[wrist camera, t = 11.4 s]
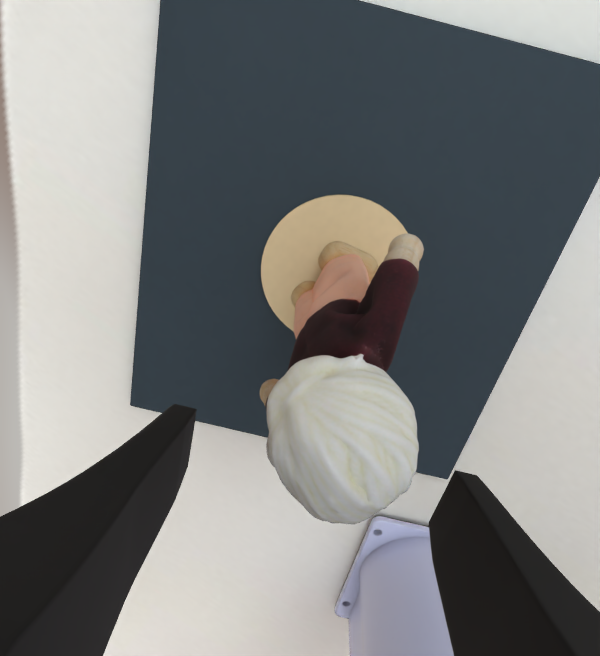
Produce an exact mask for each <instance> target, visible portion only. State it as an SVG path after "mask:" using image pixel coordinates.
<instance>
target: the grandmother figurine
mask: <svg viewBox="0 0 600 656" xmlns="http://www.w3.org/2000/svg"><path fill="white" fill-rule="evenodd" d="M423 251H424V248H423V244H422V242H421V240H420V239H419V238H418V237H416V236H415V235H412V234H408V233H406V234H401V235H399V236H397V237H395V238H394V239H393V240H392V241H391V243H390V245H389V248H388V254H387V255H386V256H385V258H384V261H383V262H382V263H381V264H380V266H379V267H378V263H377V261H376V260H375V258H374V257H373V256H372V255H370V254H368V253H366V252H364V251H362V250H360V249H358V248H355V247H353V246H351V245H349V244H347V243H344V242H341V241H334V242H331V243H329V244H328V245H326V246H325V248H324V249H323V251H322V252H321V254H320V256H319V259H318V263H319V267H320V269H321V270H322V271H321V273H320V275H319V277H318V279H317V281H316V282H315V281H304V282H302V283H301V284H299V285H298V286H297V287H296V288H295V289H294V290H293V292H292V295H291V300H292V303H293V305H294V307H295V318H294V334H295V337H296V341H295V345H294V348H293V352H292V355H291V358H290V362H289V366H288V371H287V373H286V374H285V375H284V376H283V377H282V378H281V379H280V380H277V379H269V380H267V381H265V382H264V383H263V384H262V386H261V388H260V398H261V400H262V402H263V403H264V405H265V408H266V413H267V425H268V429H269V435H268V439H267V455H268V459H269V460H270V462H271V464H272V465H273V466H274V467H275V469H276V471H277V473H278V475H279V478H280V480H281V482H282V483H283V485H284V486H285V487H286V489H287V490H288V491H289V492H290V493H291V495H292V496H293V497H295V498H296V499H297V500H298V501H299V502H300V503H301V504H302V505H303V506H304V507H305V509H306V510H307V511H308V512H309V513H310V514H311V515H312V516H314V517H315V518H317V519H320V520H322V521H328V522H330V523H344V524H357V523H360V522H362V521H364V520H366V519H368V518H370V517H371V516H373V515H374V514H376V513H378V512H379V511H380V510H382V509H385V508H386V507H387V506H388V505H389V504H391V503H392V502H393V501H394V500H396V499H397V498H398V496H399V495H400V494H402V493H404V492H406V491H407V490H408V489H409V487H410V485H411V481H412V477H413V475H414V474H415V472H416V469H417V457H418V451H419V443H418V440H417V422H416V418H415V411H414V408H413V406H412V404H411V402H410V401H409V399H408V398H407V396H406V395H405V394H404V393H403V392H402V390H401V389H400V388H399V386H398V385H397V384H396V383H395V382H394V381H393V380H392V379H391V377H390V376H389V375H388V374H387V373H386V372H387V371H388V369H389V367H390V365H391V363H392V360H393V357H394V354H395V351H396V348H397V344H398V341H399V338H400V334H401V331H402V328H403V324H404V322H405V319H406V316H407V312H408V309H409V306H410V303H411V299H412V297H413V295H414V292H415V290H416V288H417V284H418V280H419V273H418V270H419V261H420V260H421V258H422V256H423Z"/></svg>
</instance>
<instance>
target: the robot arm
mask: <svg viewBox="0 0 600 656" xmlns="http://www.w3.org/2000/svg"><path fill="white" fill-rule="evenodd" d="M196 411H197V409H195V408H191V407H187V406H182V405H178V404H173V405H171V406H170V407H169V408H167V409H166V410H165V411H164V412H163V413H162V414H161V415H159V416H158V417H157V418H156V419H155V420H154V421H152V422H151V423H150V424H149V425H147V426H146V427H145V428H144V429H143V430H141V431H140V432H139V433H137V434H136V435H135V436H134V437H132V438H131V439H130V440H128V441H127V442H126V443H124V444H123V445H122V446H120V447H119V448H118V449H116V450H115V451H113V452H112V453H111V454H109V455H108V456H106V457H105V458H103V459H102V460H100V461H99V462H97V463H96V464H94V465H93V466H91V467H90V468H88V469H87V470H85V471H84V472H82V473H81V474H79V475H77V476H76V477H74V478H72V479H71V480H69V481H67V482H66V483H64V484H62V485H61V486H59V487H57V488H55V489H54V490H52V491H50V492H48V493H46V494H45V495H43V496H41V497H39V498H37V499H35V500H33V501H31V502H29V503H27V504H25V505H23V506H21V507H19V508H18V509H15V510H14V511H11V512H9V513H7V514H5V515H3V516H1V517H0V656H103V654H104V651H105V649H106V646H107V644H108V641H109V639H110V636H111V634H112V631H113V629H114V626H115V624H116V622H117V619H118V617H119V614H120V612H121V609H122V607H123V604H124V602H125V599H126V597H127V595H128V593H129V591H130V589H131V586H132V584H133V582H134V580H135V578H136V576H137V574H138V572H139V570H140V568H141V566H142V564H143V562H144V560H145V558H146V556H147V554H148V552H149V551H150V549H151V547H152V545H153V543H154V541H155V539H156V537H157V535H158V533H159V531H160V529H161V527H162V525H163V523H164V521H165V519H166V517H167V515H168V513H169V511H170V509H171V507H172V505H173V503H174V501H175V499H176V496H177V493H178V491H179V488H180V486H181V483H182V480H183V478H184V475H185V472H186V470H187V467H188V461H189V455H190V449H191V443H192V436H193V430H194V424H195V418H196ZM335 613H336V615H338V616H340V617H344V618H348V619H349V645H350V656H600V612H599V611H598V610H597V609H596V608H595V607H594V606H593V605H592V604H591V603H590V602H589V601H588V600H587V599H586V598H585V597H584V596H583V595H582V594H581V593H580V592H579V591H578V590H577V589H576V588H575V587H574V586H573V585H572V584H571V583H570V582H569V581H568V580H567V579H566V578H565V576H564V575H563V574H562V573H561V572H560V571H559V570H558V569H557V568H556V567H555V566H554V565H553V564H552V562H551V561H550V560H549V559H548V558H547V557H546V556H545V555H544V554H543V552H542V551H541V550H540V549H539V548H538V547H537V546H536V544H535V543H534V542H533V541H532V540H531V539H530V537H529V536H528V535H527V534H526V533H525V532H524V530H523V529H522V528H521V527H520V526H519V524H518V523H517V522H516V521H515V520H514V518H513V517H512V516H511V515H510V514H509V512H508V511H507V510H506V509H505V508H504V506H503V505H502V504H501V503H500V502H499V500H498V499H497V498H496V497H495V496H494V494H493V493H492V492H491V491H490V490H489V489H488V487H487V486H486V485H485V484H484V483H483V482H482V481H481V480H480V478H479V477H478V476H477V475H472V474H468V473H464V472H460V471H456V470H455V472H454V474H453V476H452V478H451V480H450V482H449V484H448V486H447V488H446V490H445V492H444V494H443V495H442V497H441V499H440V501H439V503H438V505H437V507H436V509H435V511H434V513H433V515H432V517H431V519H430V521H429V527H426V526H422V525H417V524H413V523H409V522H404V521H400V520H396V519H391V518H387V517H383V516H377V517H375V518H373V519H372V521H371V523H370V525H369V528H368V530H367V532H366V535H365V537H364V539H363V542H362V544H361V547H360V549H359V551H358V554H357V556H356V558H355V561H354V563H353V565H352V568H351V570H350V572H349V575H348V577H347V579H346V582H345V584H344V587H343V589H342V591H341V594H340V596H339V598H338V601H337V603H336V605H335Z"/></svg>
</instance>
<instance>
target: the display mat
mask: <svg viewBox="0 0 600 656" xmlns="http://www.w3.org/2000/svg"><path fill="white" fill-rule="evenodd" d="M599 177H600V64H598V63H594V62H590V61H586V60H582V59H579V58H575V57H571V56H567V55H564V54H560V53H556V52H552V51H548V50H545V49H541V48H537V47H533V46H530V45H526V44H522V43H518V42H514V41H511V40H507V39H503V38H499V37H495V36H492V35H488V34H484V33H480V32H477V31H473V30H469V29H465V28H461V27H458V26H454V25H450V24H446V23H443V22H439V21H435V20H431V19H427V18H424V17H420V16H416V15H412V14H409V13H405V12H401V11H397V10H393V9H390V8H386V7H382V6H378V5H374V4H371V3H367V2H363V1H359V0H161V1H160V15H159V28H158V41H157V55H156V68H155V81H154V95H153V108H152V122H151V135H150V148H149V162H148V175H147V189H146V202H145V215H144V229H143V242H142V256H141V269H140V282H139V296H138V309H137V322H136V336H135V349H134V363H133V376H132V389H131V403H130V405H131V406H135V407H139V408H143V409H148V410H152V411H156V412H161V413H163V412H164V411H165V410H166V409H167V408H169V407H170V406H171V405H173V404H178V405H182V406H187V407H191V408H195V409H197V411H196V418H195V421H199V422H203V423H208V424H212V425H216V426H221V427H225V428H229V429H233V430H238V431H242V432H246V433H251V434H255V435H259V436H263V437H268V435H269V429H268V425H267V413H266V408H265V405H264V403H263V402H262V400H261V398H260V388H261V386H262V384H263V383H264V382H265V381H267V380H269V379H277V380H280V379H281V378H282V377H283V376H284V375H285V374H286V373H287V371H288V366H289V362H290V358H291V355H292V352H293V348H294V345H295V341H296V337H295V334H294V318H295V307H294V305H293V303H292V300H291V295H292V292H293V290H294V289H295V288H296V287H297V286H298V285H299V284H301V283H302V282H304V281H315V282H316V281H317V279H318V277H319V275H320V273H321V271H322V270H321V269H320V267H319V263H318V259H319V256H320V254H321V252H322V251H323V249H324V248H325V246H326V245H328V244H329V243H331V242H334V241H341V242H344V243H347V244H349V245H351V246H353V247H355V248H358V249H360V250H362V251H364V252H366V253H368V254H370V255H372V256H373V257H374V258H375V260H376V261H377V263H378V267H379V266H380V264H381V263H382V262H383V261H384V258H385V256H386V255H387V254H388V248H389V245H390V243H391V241H392V240H393V239H394V238H395V237H397V236H399V235H401V234H406V233H408V234H412V235H415V236H416V237H418V238H419V239H420V240H421V242H422V244H423V248H424V251H423V256H422V258H421V260H420V261H419V270H418V273H419V280H418V284H417V288H416V290H415V292H414V295H413V297H412V299H411V303H410V306H409V309H408V312H407V316H406V319H405V322H404V324H403V328H402V331H401V334H400V338H399V341H398V344H397V348H396V351H395V354H394V357H393V360H392V363H391V365H390V367H389V369H388V371H387V372H386V373H387V374H388V375H389V376H390V377H391V379H392V380H393V381H394V382H395V383H396V384H397V385H398V386H399V388H400V389H401V390H402V392H403V393H404V394H405V395H406V396H407V398H408V399H409V401H410V402H411V404H412V406H413V408H414V411H415V418H416V422H417V440H418V443H419V451H418V457H417V469H416V472H418V473H422V474H426V475H431V476H435V477H439V478H443V479H448V478H449V476H450V474H451V472H452V470H453V468H454V466H455V464H456V462H457V460H458V458H459V456H460V454H461V452H462V450H463V448H464V446H465V444H466V442H467V440H468V438H469V436H470V434H471V432H472V430H473V428H474V426H475V424H476V422H477V420H478V418H479V416H480V414H481V412H482V410H483V408H484V406H485V404H486V402H487V400H488V398H489V396H490V394H491V392H492V390H493V388H494V386H495V384H496V382H497V380H498V378H499V376H500V374H501V372H502V370H503V368H504V366H505V364H506V362H507V360H508V358H509V356H510V354H511V352H512V350H513V348H514V346H515V344H516V342H517V340H518V338H519V336H520V334H521V332H522V330H523V328H524V326H525V324H526V322H527V320H528V318H529V316H530V314H531V312H532V310H533V308H534V306H535V304H536V302H537V300H538V298H539V296H540V294H541V292H542V290H543V288H544V286H545V284H546V282H547V280H548V278H549V276H550V274H551V272H552V270H553V268H554V266H555V264H556V262H557V260H558V258H559V256H560V255H561V253H562V251H563V249H564V247H565V245H566V243H567V241H568V239H569V237H570V235H571V233H572V231H573V229H574V227H575V225H576V223H577V221H578V219H579V217H580V215H581V213H582V211H583V209H584V207H585V205H586V203H587V201H588V199H589V197H590V195H591V193H592V191H593V189H594V187H595V185H596V183H597V181H598V179H599Z"/></svg>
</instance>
